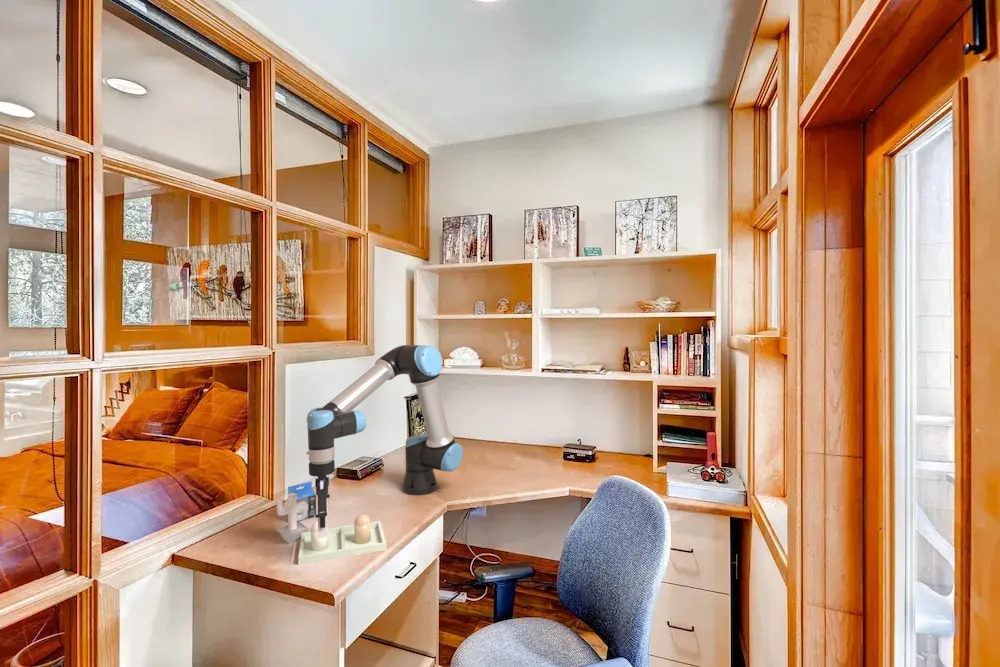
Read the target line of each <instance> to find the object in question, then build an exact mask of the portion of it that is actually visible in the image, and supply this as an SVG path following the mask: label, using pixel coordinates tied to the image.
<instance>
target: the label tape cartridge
mask: <svg viewBox="0 0 1000 667" xmlns="http://www.w3.org/2000/svg"><path fill="white" fill-rule="evenodd" d="M300 487H301V488H300ZM298 488H299V489H298ZM287 491H288V492H287V495H288V494H289V493H296V494H297V500H296V503H298V502H302V501H305V502H306V503H307V517H305V518H303V517H302V512H301V511H297V522H301V521H305V520H309V519H312V518H315V515H317V495H316V492H315V491H314V489H313V484H312V481H307V482H304V483H298V484H295V485H290V486H288V487H287Z"/></svg>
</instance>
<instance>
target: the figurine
mask: <svg viewBox="0 0 1000 667" xmlns="http://www.w3.org/2000/svg"><path fill="white" fill-rule="evenodd" d="M296 500H297V494H296V493H289V494H288V493H287V502H286V503H287V505H285V506H284V505H283V504H284V502H283V501H284V500H283V499H282V498H277V500H276V513H277V516H278V517H283V516H286V515H287V525H283V526H281V527H277V531H278V532H279V534H280V536H281V537H282V540H283V541H285V542H286V543H287V544H291V543H295V542H297V541H298V539H301V535H302V532H308V526H306V525H304V524H303V523H302V522H301V521H298V522H297V511H301V512H302V517H303V518H305V517H307V503H306V502H305V501H302V502H298V503H296Z"/></svg>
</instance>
